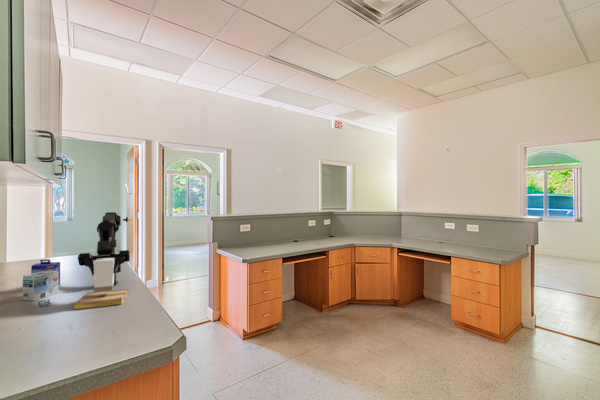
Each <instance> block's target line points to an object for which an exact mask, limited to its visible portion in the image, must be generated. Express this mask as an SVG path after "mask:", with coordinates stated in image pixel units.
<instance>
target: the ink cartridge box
mask: <svg viewBox="0 0 600 400" xmlns="http://www.w3.org/2000/svg"><path fill="white" fill-rule="evenodd" d="M39 260H40V262H38V263H34V264H32V265H31V270H30V271H31V272H30V274H33V273H37V272H42V271H46V270H52V271H59V287H60V286H61V262H60V261H56V262H52V261H50V259H39Z"/></svg>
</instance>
